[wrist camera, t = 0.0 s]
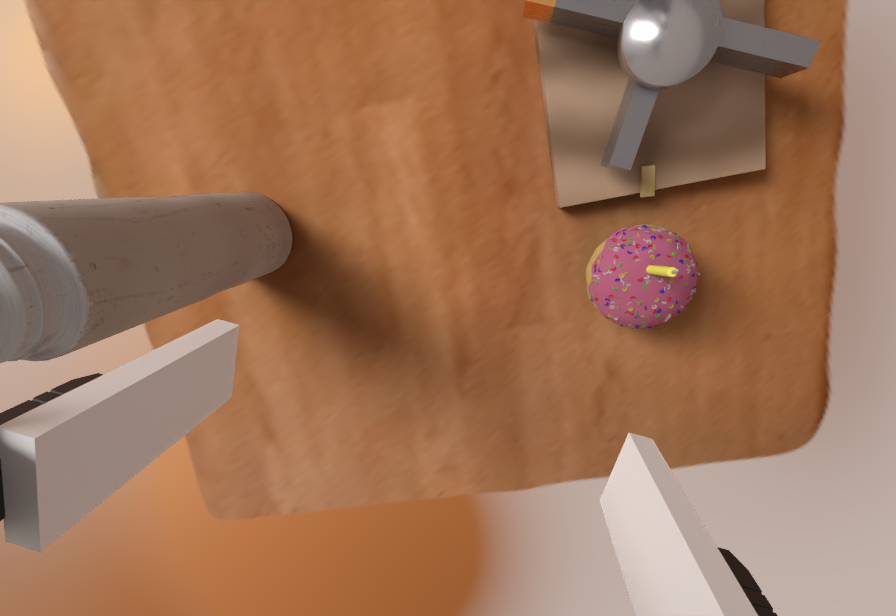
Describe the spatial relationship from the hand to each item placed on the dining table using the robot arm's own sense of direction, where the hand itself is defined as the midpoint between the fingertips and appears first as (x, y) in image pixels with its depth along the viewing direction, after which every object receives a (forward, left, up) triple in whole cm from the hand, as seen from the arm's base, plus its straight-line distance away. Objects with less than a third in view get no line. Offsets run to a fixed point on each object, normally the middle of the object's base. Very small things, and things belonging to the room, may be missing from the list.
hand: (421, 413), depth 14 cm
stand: (-20, +9, -28) cm, 36 cm away
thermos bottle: (+3, -21, -28) cm, 35 cm away
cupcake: (-3, +14, -28) cm, 32 cm away
